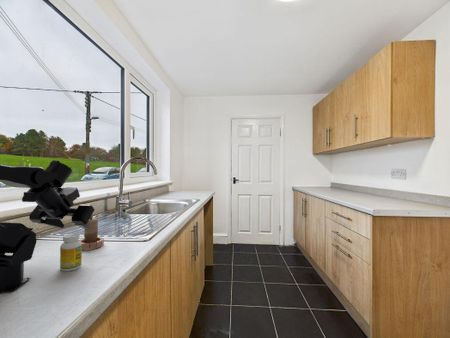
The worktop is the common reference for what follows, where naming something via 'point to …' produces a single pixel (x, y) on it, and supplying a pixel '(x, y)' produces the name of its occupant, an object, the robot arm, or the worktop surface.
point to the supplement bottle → (70, 253)
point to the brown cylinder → (91, 231)
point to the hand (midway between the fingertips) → (75, 227)
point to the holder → (92, 244)
